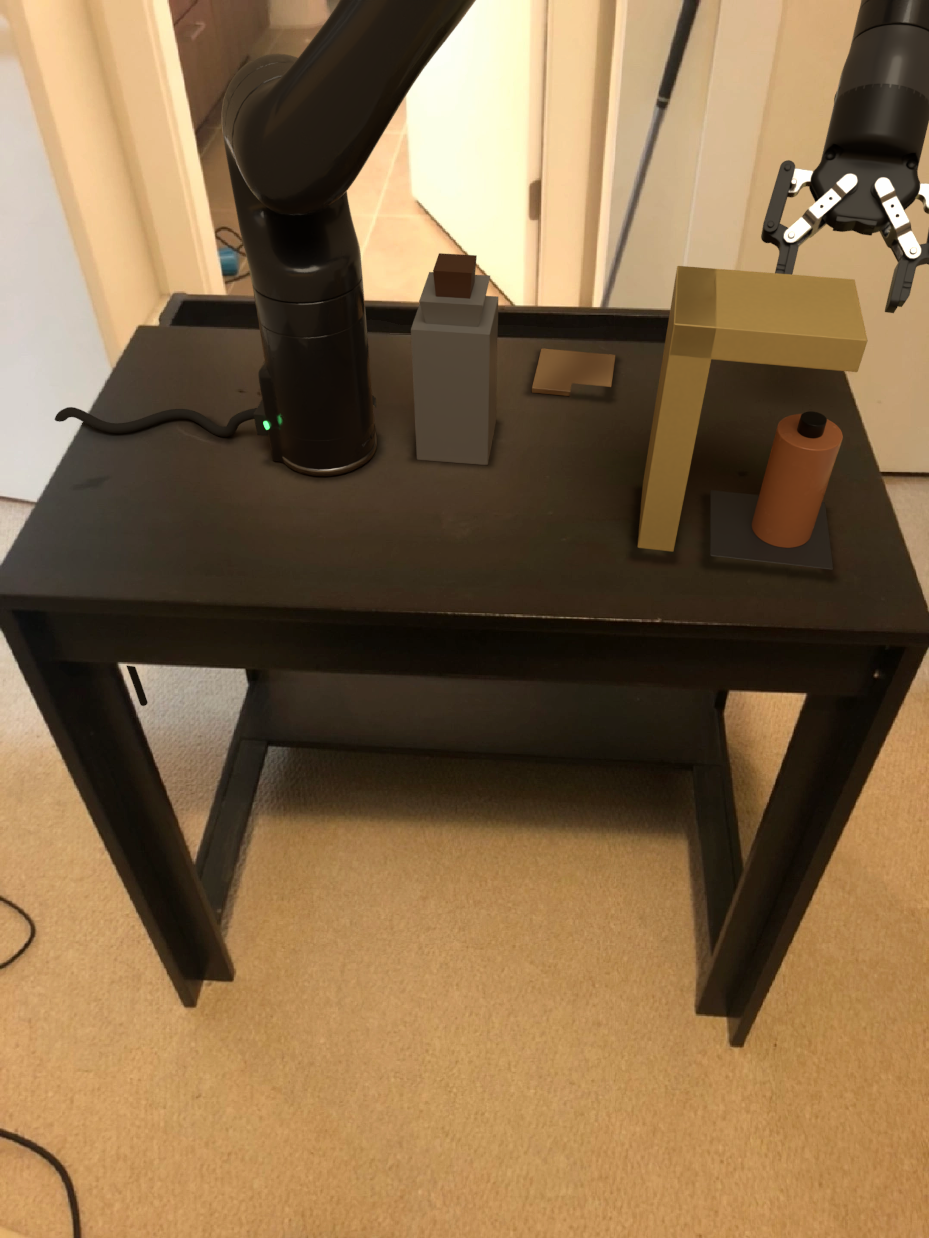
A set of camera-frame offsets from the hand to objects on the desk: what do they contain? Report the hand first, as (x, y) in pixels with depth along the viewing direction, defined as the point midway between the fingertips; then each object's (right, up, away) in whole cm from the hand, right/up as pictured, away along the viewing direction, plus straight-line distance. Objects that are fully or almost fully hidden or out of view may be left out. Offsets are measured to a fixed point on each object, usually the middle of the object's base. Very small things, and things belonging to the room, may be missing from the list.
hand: (836, 302), depth 80 cm
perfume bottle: (-31, -9, +15) cm, 36 cm away
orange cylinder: (-3, -18, +4) cm, 19 cm away
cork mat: (-19, 0, +23) cm, 30 cm away
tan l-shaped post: (-7, -18, +5) cm, 20 cm away
